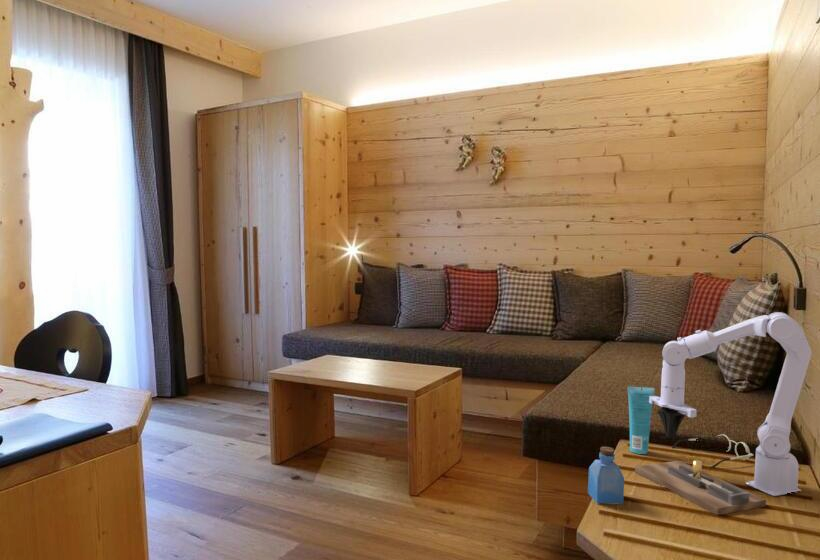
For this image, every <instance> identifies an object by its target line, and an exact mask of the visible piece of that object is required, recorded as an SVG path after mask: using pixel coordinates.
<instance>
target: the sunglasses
mask: <svg viewBox="0 0 820 560" xmlns="http://www.w3.org/2000/svg"><path fill="white" fill-rule="evenodd" d="M717 436H720V437H722V436H723V437H725V438H726V439H727V441H728V444H729V446H728V447H727V449H728V450H726V452H729V451H731V449H732V443H734V444H735V445H734V452H735V454H736V456H734V457H730V458H726V459H721V460H720V461H718V462H716V463H715V464H713V465H711V466H710V467H709V468H711V469H713V468H716V467H717V466H719V465H720V464H721V463H723V462H725V461H731V460H732V461H733V460H738V459H743V461H748V460H749V458H750V457H754V453H751V451H750V448H749V446H748V445H747V443H745V442H743V441H740V442H739V441H738V442H736V441H734V440H732V439H731V438H729V437H728V436H727V435H726V434H718V435H717ZM696 439H697V438H687V439H686V438H685V439H679V440H677V441H676V442H675V443H674V444H673V445H672V447H671V449H676V447H677V446H678V444H679V443H680V442H685V441H686V442H687V441H688V442H689V441H692V442H693V441H695V442H696ZM740 443H741V444H742V445H743V447H744V448H745V453H748V454H746V455H739V454H738V451H737V447H738V445H739V444H740Z"/></svg>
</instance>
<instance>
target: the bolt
mask: <svg viewBox="0 0 820 560" xmlns="http://www.w3.org/2000/svg"><path fill="white" fill-rule="evenodd" d="M692 466H693V472H692V474H688V475H690V476H692V477H694V478H696V479H698V480H700V481H702V487H704V488H706V489H708V485H714V486H717V487H719V488H721V489H723V490H725V491H727V492H729V493H731V494H734V492H732V491H730V490H727V489H725V488H723V487H721V486H719V485H717V484H715V483H712V482H710V481H708V480H706V479H704V478H702V477H701V472H702V471H703V469H702V468H703V462H702V461H701V460H699V459H693V460H692Z"/></svg>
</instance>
